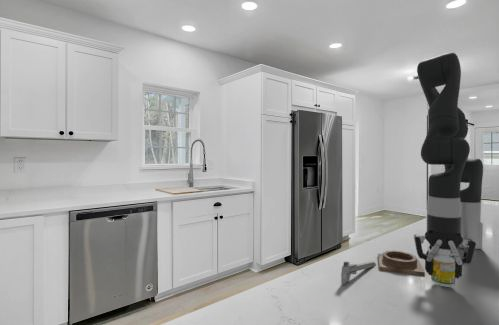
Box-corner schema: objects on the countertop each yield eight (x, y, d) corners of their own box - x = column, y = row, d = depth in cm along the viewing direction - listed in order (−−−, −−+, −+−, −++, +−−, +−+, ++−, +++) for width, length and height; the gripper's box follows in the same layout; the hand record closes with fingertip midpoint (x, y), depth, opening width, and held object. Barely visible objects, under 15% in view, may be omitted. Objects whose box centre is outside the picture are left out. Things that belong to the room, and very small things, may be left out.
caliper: (344, 287, 78) (344, 264, 78) (341, 285, 79) (341, 263, 79) (376, 265, 92) (376, 245, 92) (372, 264, 93) (373, 244, 93)
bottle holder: (417, 260, 95) (417, 251, 95) (424, 275, 84) (424, 265, 84) (377, 256, 99) (377, 247, 99) (379, 269, 88) (379, 260, 88)
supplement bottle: (457, 288, 74) (458, 252, 73) (433, 285, 76) (434, 249, 75) (451, 279, 79) (452, 245, 78) (429, 277, 81) (429, 243, 80)
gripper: (471, 211, 77) (470, 273, 78) (410, 208, 83) (410, 266, 83) (482, 218, 70) (480, 286, 71) (415, 214, 76) (414, 277, 76)
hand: (442, 275), depth 77 cm, fingers closed on supplement bottle, 5 cm apart
